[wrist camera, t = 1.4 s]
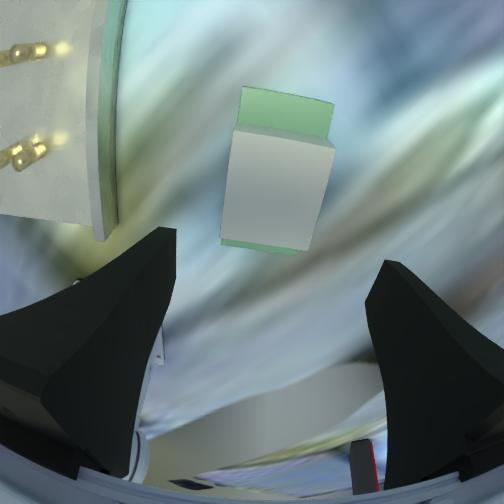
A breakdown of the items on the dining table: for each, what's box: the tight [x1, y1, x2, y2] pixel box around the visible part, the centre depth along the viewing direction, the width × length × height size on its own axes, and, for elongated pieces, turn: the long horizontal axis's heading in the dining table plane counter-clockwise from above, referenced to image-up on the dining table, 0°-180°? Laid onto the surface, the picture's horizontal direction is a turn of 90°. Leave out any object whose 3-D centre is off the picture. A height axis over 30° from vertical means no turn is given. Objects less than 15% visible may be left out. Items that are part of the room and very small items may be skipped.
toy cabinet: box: [349, 439, 379, 496], centre depth 38 cm, size 11×4×15 cm, turn 13°
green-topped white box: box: [219, 86, 336, 255], centre depth 17 cm, size 10×5×4 cm, turn 171°
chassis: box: [0, 0, 127, 242], centre depth 13 cm, size 18×14×3 cm
